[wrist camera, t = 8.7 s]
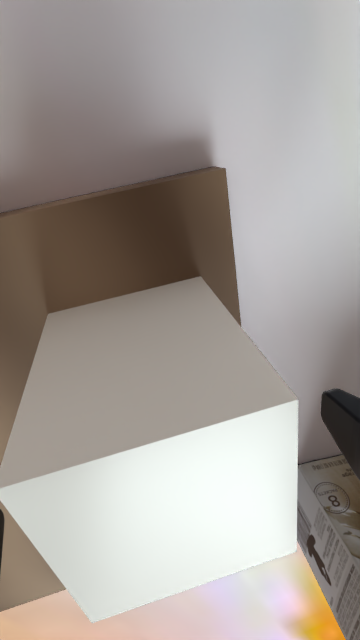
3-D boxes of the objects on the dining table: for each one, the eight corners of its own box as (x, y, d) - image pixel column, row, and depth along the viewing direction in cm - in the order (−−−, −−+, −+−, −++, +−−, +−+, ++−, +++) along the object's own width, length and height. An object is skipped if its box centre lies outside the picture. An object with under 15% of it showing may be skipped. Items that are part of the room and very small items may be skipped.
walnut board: (-36, 600, 19) (-44, 626, 18) (-385, 297, 9) (-447, 315, 8) (252, 504, 21) (260, 522, 20) (213, 166, 11) (225, 168, 10)
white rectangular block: (95, 425, 14) (92, 623, 8) (48, 314, 11) (-8, 490, 5) (217, 390, 14) (297, 551, 9) (200, 276, 12) (298, 399, 6)
